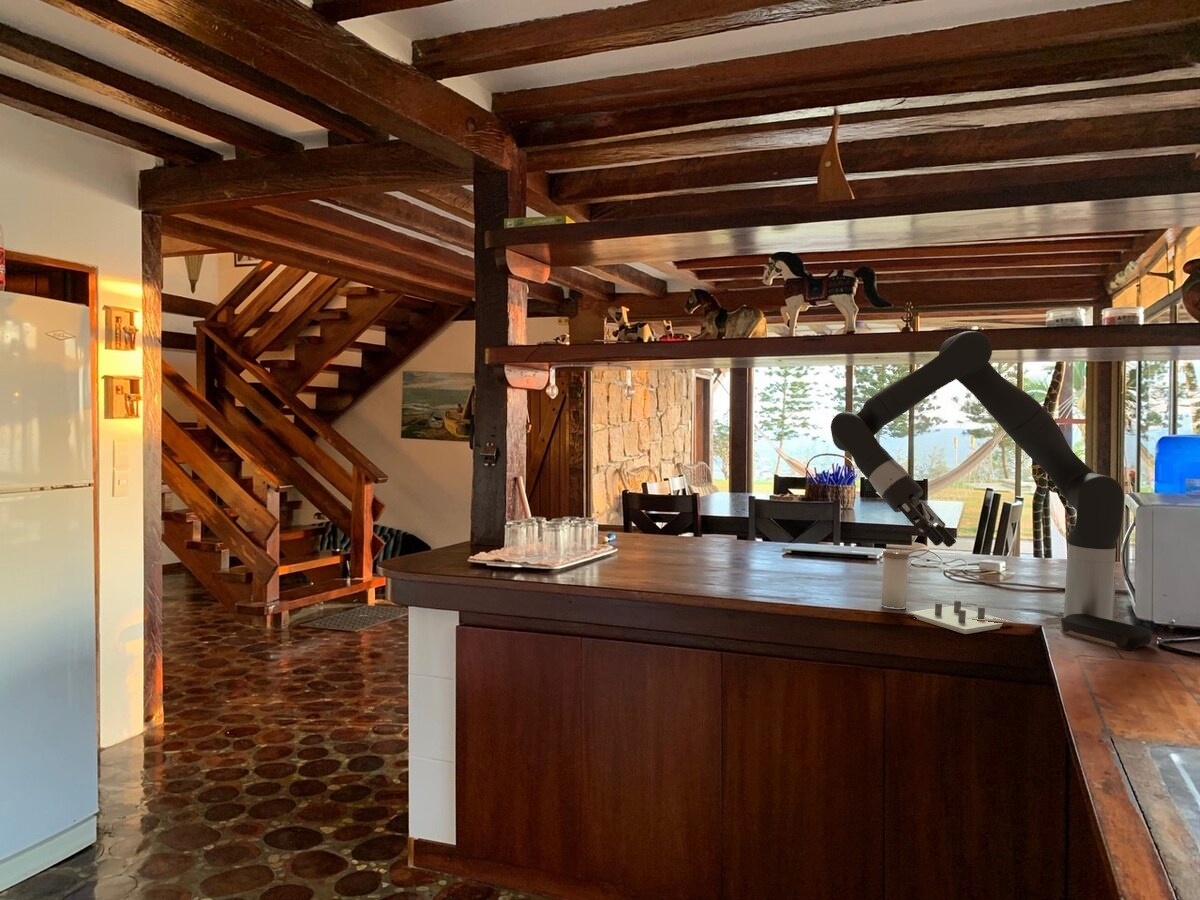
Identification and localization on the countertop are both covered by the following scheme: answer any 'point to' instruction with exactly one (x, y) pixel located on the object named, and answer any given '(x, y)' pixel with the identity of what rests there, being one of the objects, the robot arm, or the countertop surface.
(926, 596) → the countertop surface
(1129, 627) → the black sponge
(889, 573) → the canister
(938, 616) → the plate
